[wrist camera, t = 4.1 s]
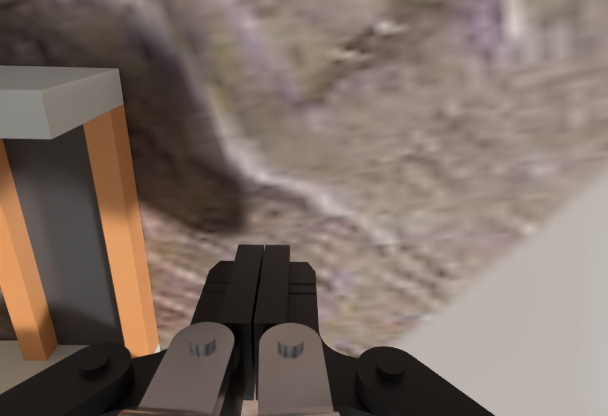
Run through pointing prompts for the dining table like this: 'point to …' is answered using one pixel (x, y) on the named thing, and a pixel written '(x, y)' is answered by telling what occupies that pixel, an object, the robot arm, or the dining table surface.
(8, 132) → the twin rod panel frame
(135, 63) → the dining table surface
